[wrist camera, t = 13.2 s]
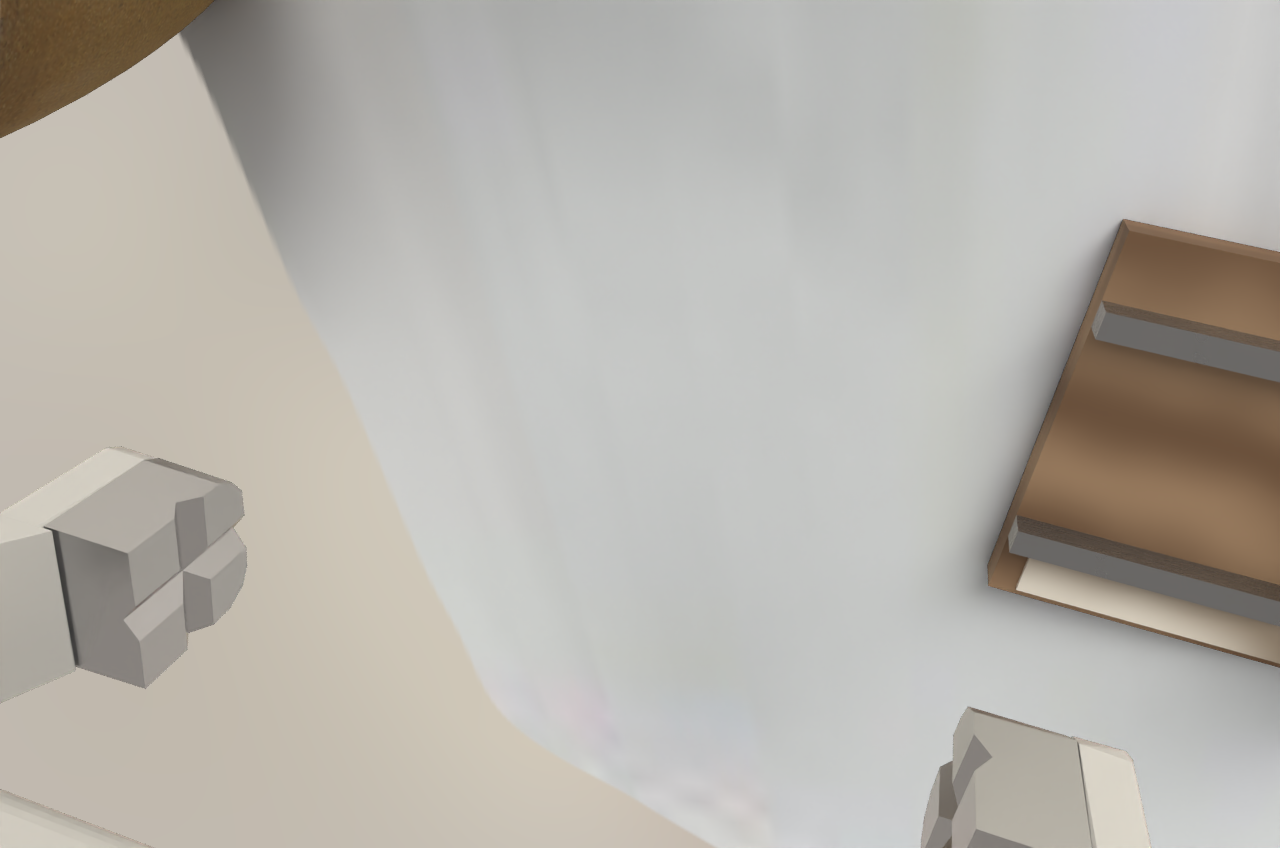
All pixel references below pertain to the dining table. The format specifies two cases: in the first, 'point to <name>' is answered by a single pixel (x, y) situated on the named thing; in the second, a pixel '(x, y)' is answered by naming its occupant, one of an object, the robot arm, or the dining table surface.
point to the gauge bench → (1162, 445)
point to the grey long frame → (1143, 564)
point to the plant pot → (76, 48)
